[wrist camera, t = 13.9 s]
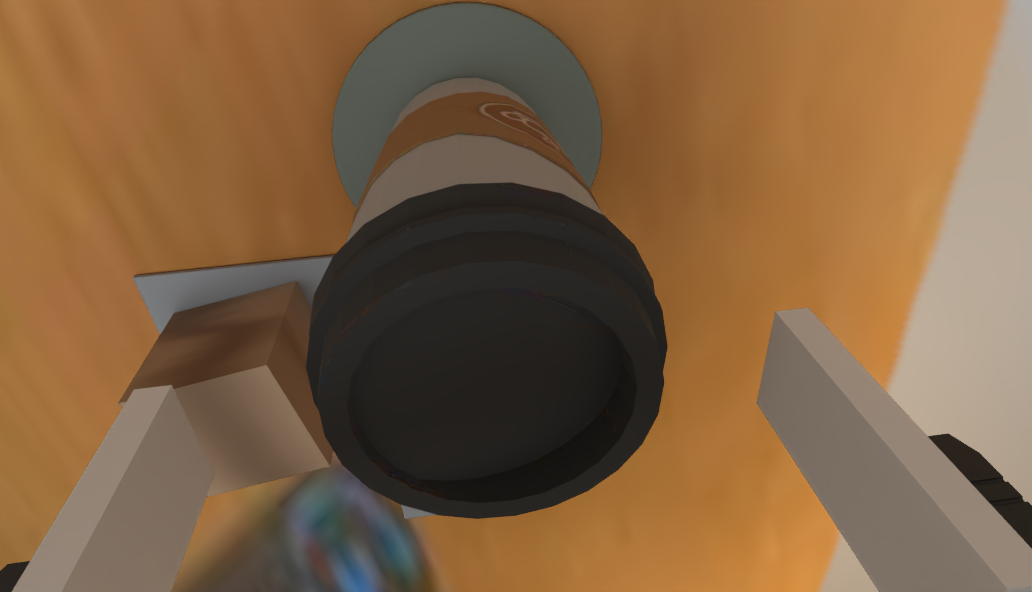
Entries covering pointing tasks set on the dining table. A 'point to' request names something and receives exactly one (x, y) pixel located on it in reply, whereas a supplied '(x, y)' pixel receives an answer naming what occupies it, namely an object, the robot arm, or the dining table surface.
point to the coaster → (462, 54)
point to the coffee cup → (483, 318)
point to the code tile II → (224, 284)
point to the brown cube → (243, 385)
